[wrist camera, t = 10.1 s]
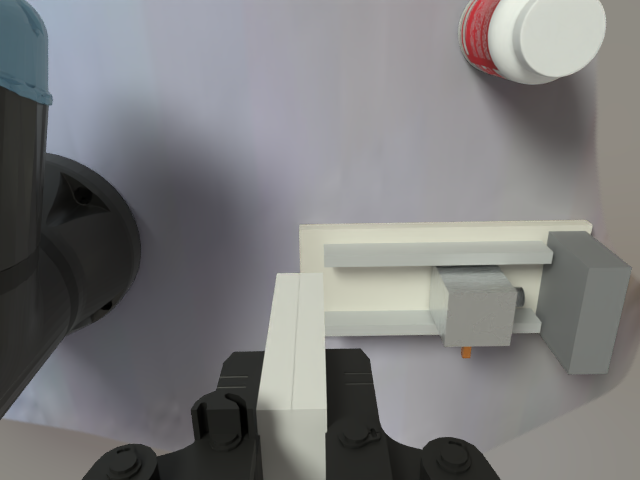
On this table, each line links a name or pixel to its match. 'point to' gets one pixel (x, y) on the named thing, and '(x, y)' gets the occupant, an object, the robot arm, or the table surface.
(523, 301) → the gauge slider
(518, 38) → the pill bottle
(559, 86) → the table surface
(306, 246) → the base
